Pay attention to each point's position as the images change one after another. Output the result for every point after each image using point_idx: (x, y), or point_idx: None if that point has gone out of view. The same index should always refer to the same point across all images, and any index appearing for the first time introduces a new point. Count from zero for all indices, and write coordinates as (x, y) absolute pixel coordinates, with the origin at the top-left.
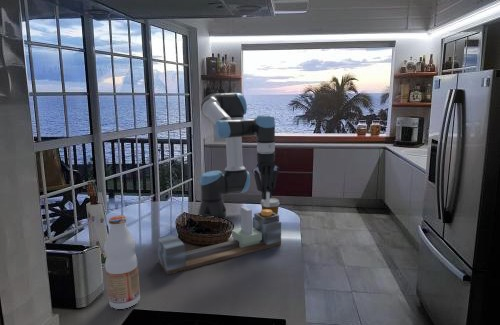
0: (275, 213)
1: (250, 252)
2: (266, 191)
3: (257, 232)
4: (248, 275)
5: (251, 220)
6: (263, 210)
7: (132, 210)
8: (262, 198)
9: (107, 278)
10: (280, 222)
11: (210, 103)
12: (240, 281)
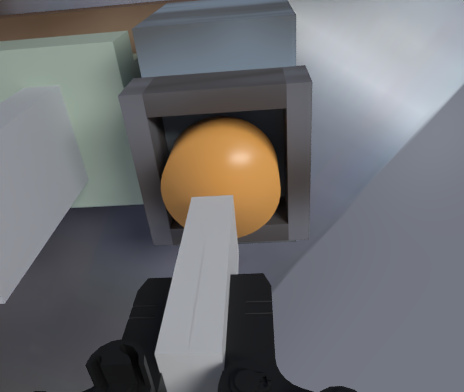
0: None
1: None
2: (202, 383)
3: (127, 182)
4: (42, 310)
5: (46, 235)
6: (201, 161)
7: None
8: (144, 295)
9: None
10: (292, 240)
11: None
12: (9, 326)
